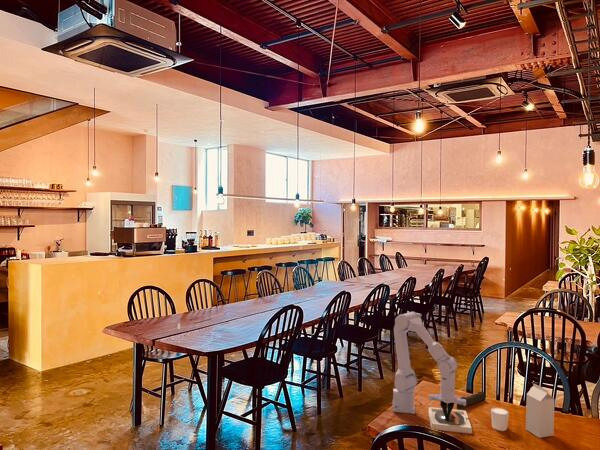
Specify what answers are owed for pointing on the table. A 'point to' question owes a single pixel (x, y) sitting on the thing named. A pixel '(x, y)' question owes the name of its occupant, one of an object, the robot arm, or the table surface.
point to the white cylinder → (499, 418)
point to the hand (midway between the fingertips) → (447, 419)
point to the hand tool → (472, 399)
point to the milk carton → (540, 412)
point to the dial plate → (447, 427)
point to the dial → (453, 418)
